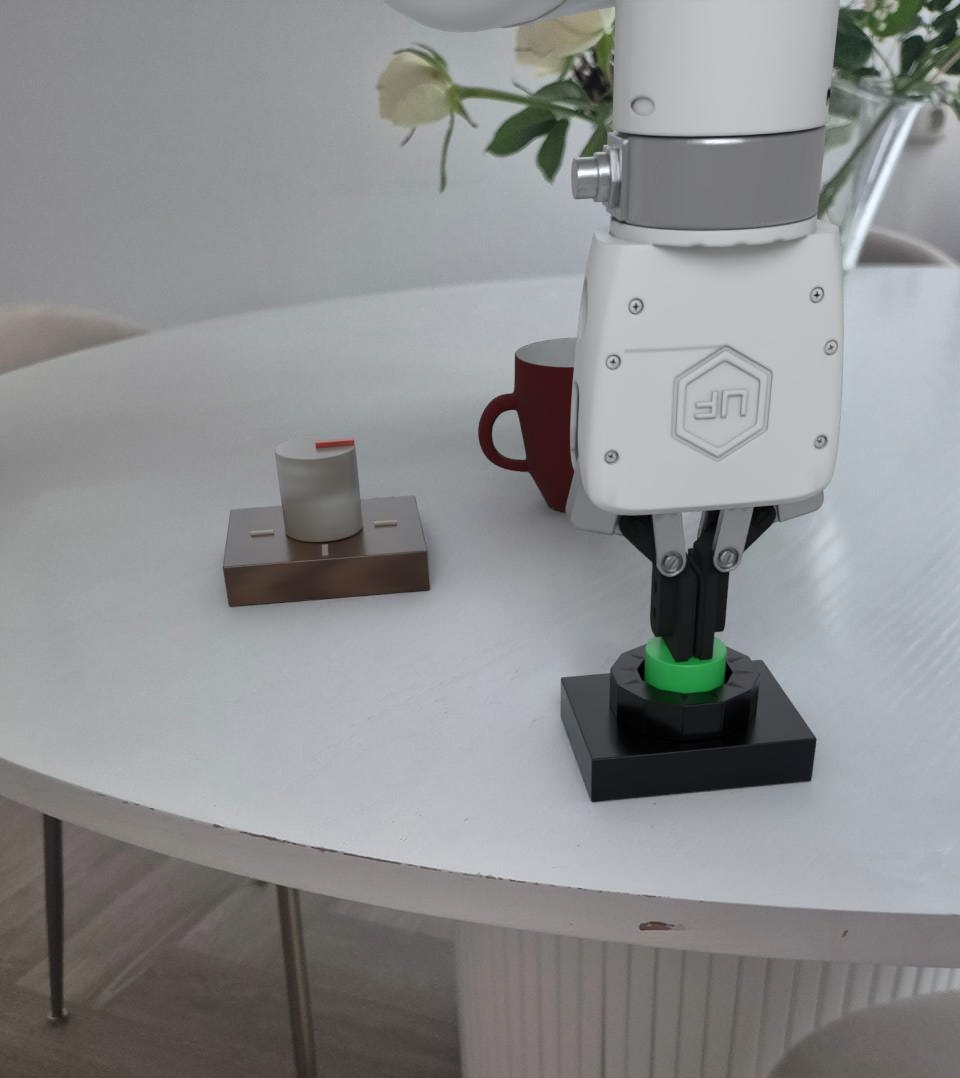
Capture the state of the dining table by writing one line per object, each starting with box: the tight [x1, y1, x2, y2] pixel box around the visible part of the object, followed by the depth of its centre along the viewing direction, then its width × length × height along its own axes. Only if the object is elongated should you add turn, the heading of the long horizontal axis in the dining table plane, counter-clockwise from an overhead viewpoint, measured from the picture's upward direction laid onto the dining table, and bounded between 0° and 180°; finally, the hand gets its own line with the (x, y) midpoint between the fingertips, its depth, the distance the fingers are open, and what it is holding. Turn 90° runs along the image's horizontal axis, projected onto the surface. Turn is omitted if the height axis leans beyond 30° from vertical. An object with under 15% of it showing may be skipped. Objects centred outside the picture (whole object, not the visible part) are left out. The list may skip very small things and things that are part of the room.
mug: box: [477, 337, 577, 513], centre depth 84 cm, size 10×8×10 cm
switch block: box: [560, 643, 818, 803], centre depth 58 cm, size 10×8×4 cm
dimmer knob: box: [274, 434, 363, 542], centre depth 76 cm, size 5×5×5 cm
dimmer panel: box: [222, 495, 431, 607], centre depth 78 cm, size 12×10×3 cm
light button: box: [644, 636, 727, 693], centre depth 57 cm, size 4×4×2 cm
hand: (685, 646), depth 56 cm, fingers closed
